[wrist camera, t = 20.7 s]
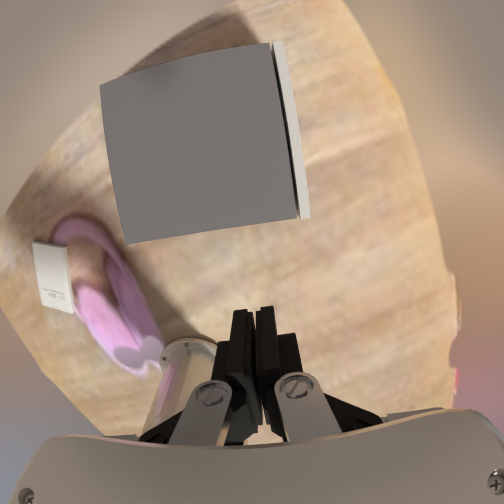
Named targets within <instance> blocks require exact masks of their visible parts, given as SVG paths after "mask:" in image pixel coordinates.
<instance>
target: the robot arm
mask: <svg viewBox="0 0 504 504" xmlns="http://www.w3.org/2000/svg"><path fill="white" fill-rule="evenodd" d="M160 366H161V369H162V372H163V377H162V379H161V382H160V385H159V387H158V390H157V392H156V395H155V398H154V400H153V403H152V406H151V408H150V411H149V414H148V416H147V419H146V422H145V425H144V428H143V431H142V436H141V437H138V436H137V435H136V434H135V435H120V436H91V435H64V436H57V437H53V438H50V439H48V440H46V441H45V442H44V443H42V444H41V445H40V446H39V448H38V449H37V450H36V451H35V453H34V454H33V456H32V457H31V458H30V460H29V462H28V463H27V465H26V467H25V469H24V471H23V472H22V474H21V476H20V478H19V480H18V482H17V484H16V486H15V488H14V490H13V493H12V495H11V497H10V499H9V502H8V504H504V437H503V436H502V434H501V433H500V432H499V430H498V429H497V428H496V427H495V426H494V424H493V423H492V422H491V421H490V420H489V419H488V418H487V417H486V416H484V415H483V414H482V413H480V412H478V411H475V410H472V409H464V408H455V409H444V408H430V409H423V410H416V411H409V412H401V413H392V414H387V416H386V417H379V416H377V415H376V414H374V413H371V412H369V411H366V410H364V409H361V408H359V407H356V406H354V405H351V404H349V403H346V402H344V401H341V400H339V399H337V398H334V397H332V396H330V395H327V394H325V393H323V391H322V389H321V387H320V385H319V383H318V381H317V380H316V378H315V377H314V376H312V375H311V374H308V373H305V372H303V369H302V364H301V359H300V354H299V349H298V344H297V339H296V334H295V333H289V334H282V335H277V329H276V322H275V314H274V307H273V306H266V307H261V311H256V329H255V324H254V318H253V313H252V312H248V311H247V309H242V310H234V313H233V320H232V327H231V334H230V341H219V342H218V345H215V344H213V343H211V342H209V341H206V340H203V339H199V338H181V339H177V340H175V341H172V342H171V343H169V344H168V345H167V346H166V347H165V348H164V350H163V352H162V354H161V358H160ZM262 405H263V408H262ZM263 409H264V414H265V419H266V423H267V425H268V424H270V426H271V431H272V432H274V433H275V434H277V435H278V436H280V437H282V441H283V442H281V443H271V444H258V445H248V440H247V438H248V437H250V436H251V435H252V434H253V433H258V425H263Z"/></svg>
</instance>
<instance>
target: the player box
mask: <svg viewBox="0 0 504 504" xmlns="http://www.w3.org/2000/svg"><path fill="white" fill-rule="evenodd" d="M100 95H101V107H102V116H103V125H104V133H105V141H106V147H107V154H108V160H109V166H110V172H111V178H112V183H113V188H114V193H115V198H116V203H117V207H118V212H119V216H120V221H121V225H122V229H123V233H124V237H125V241H126V245H128V244H133V243H139V242H145V241H151V240H157V239H162V238H168V237H175V236H181V235H187V234H193V233H199V232H206V231H212V230H219V229H225V228H232V227H239V226H245V225H252V224H259V223H266V222H273V221H281V220H288V219H295V218H297V215H296V206H295V198H294V190H293V183H292V175H291V168H290V161H289V154H288V147H287V141H286V134H285V128H284V122H283V116H282V110H281V104H280V98H279V92H278V87H277V81H276V76H275V70H274V65H273V60H272V55H271V50H270V45H269V43H263V44H254V45H246V46H239V47H233V48H227V49H221V50H216V51H211V52H206V53H201V54H197V55H192V56H188V57H184V58H180V59H176V60H172V61H169V62H165V63H162V64H158V65H155V66H152V67H148V68H145V69H142V70H139V71H136V72H133V73H131V74H128V75H125V76H122V77H120V78H117V79H114V80H112V81H109V82H107V83H104V84H102V85H100Z"/></svg>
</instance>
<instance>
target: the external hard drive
mask: <svg viewBox="0 0 504 504" xmlns="http://www.w3.org/2000/svg"><path fill="white" fill-rule="evenodd" d="M32 249H33V256H34V264H35V270H36V276H37V282H38V287H39V293H40V297H41V302H42V305H45V306H48V307H51V308H54V309H58V310H61V311H64V312H68V313H74V312H75V307H74V301H73V294H72V287H71V280H70V271H69V262H68V251H67V246H65V245H59V244H53V243H47V242H41V241H33V242H32Z"/></svg>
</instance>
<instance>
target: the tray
mask: <svg viewBox="0 0 504 504" xmlns="http://www.w3.org/2000/svg"><path fill="white" fill-rule="evenodd" d="M271 55H272V60H273V65H274V70H275V76H276V81H277V87H278V92H279V98H280V104H281V110H282V116H283V122H284V128H285V134H286V141H287V147H288V154H289V161H290V168H291V175H292V183H293V190H294V198H295V206H296V213H297V215H298V216H299V218H300V219H307V218H311V216H310V207H309V198H308V190H307V181H306V174H305V166H304V159H303V152H302V145H301V138H300V131H299V125H298V119H297V113H296V107H295V101H294V95H293V90H292V85H291V79H290V74H289V69H288V64H287V59H286V54H285V49H284V45H283V41H274V42H272V49H271Z"/></svg>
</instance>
